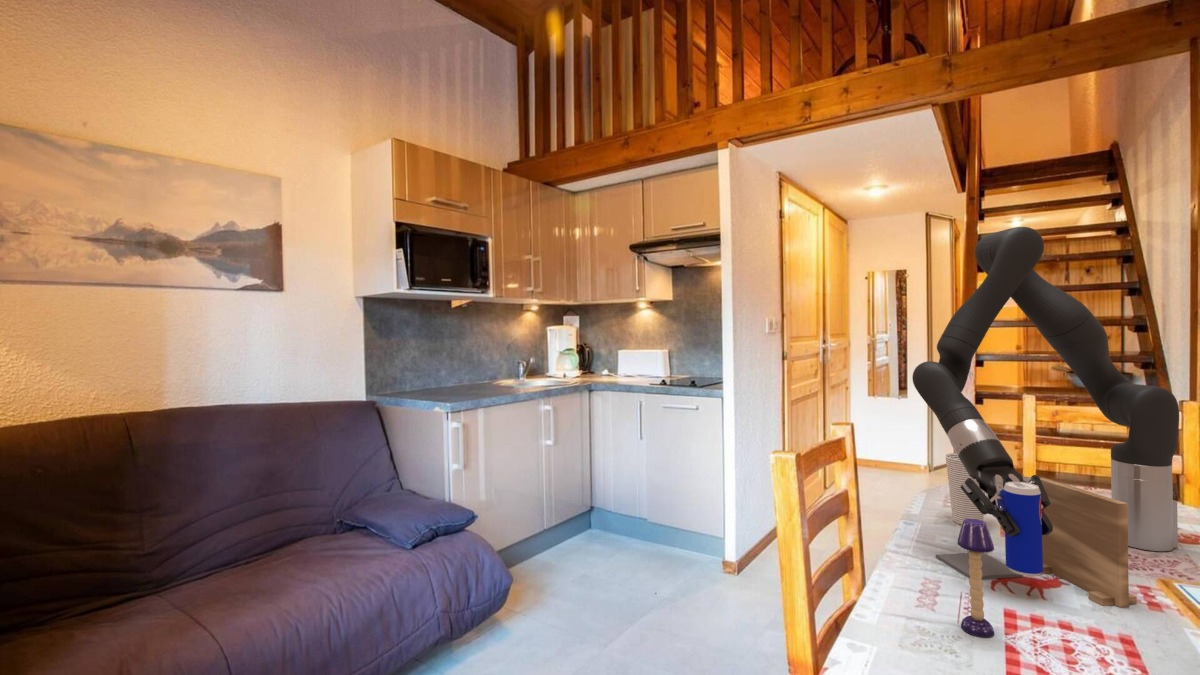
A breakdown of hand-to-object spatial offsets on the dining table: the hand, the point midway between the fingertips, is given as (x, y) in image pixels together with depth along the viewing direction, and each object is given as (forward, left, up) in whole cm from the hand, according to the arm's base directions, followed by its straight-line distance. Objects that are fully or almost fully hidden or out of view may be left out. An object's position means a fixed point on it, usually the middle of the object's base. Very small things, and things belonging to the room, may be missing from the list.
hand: (1031, 533), depth 95 cm
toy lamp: (+16, +8, -11) cm, 21 cm away
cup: (-15, -36, -11) cm, 40 cm away
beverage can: (0, -2, -7) cm, 8 cm away
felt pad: (0, -13, -11) cm, 17 cm away
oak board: (-12, -4, -11) cm, 17 cm away
